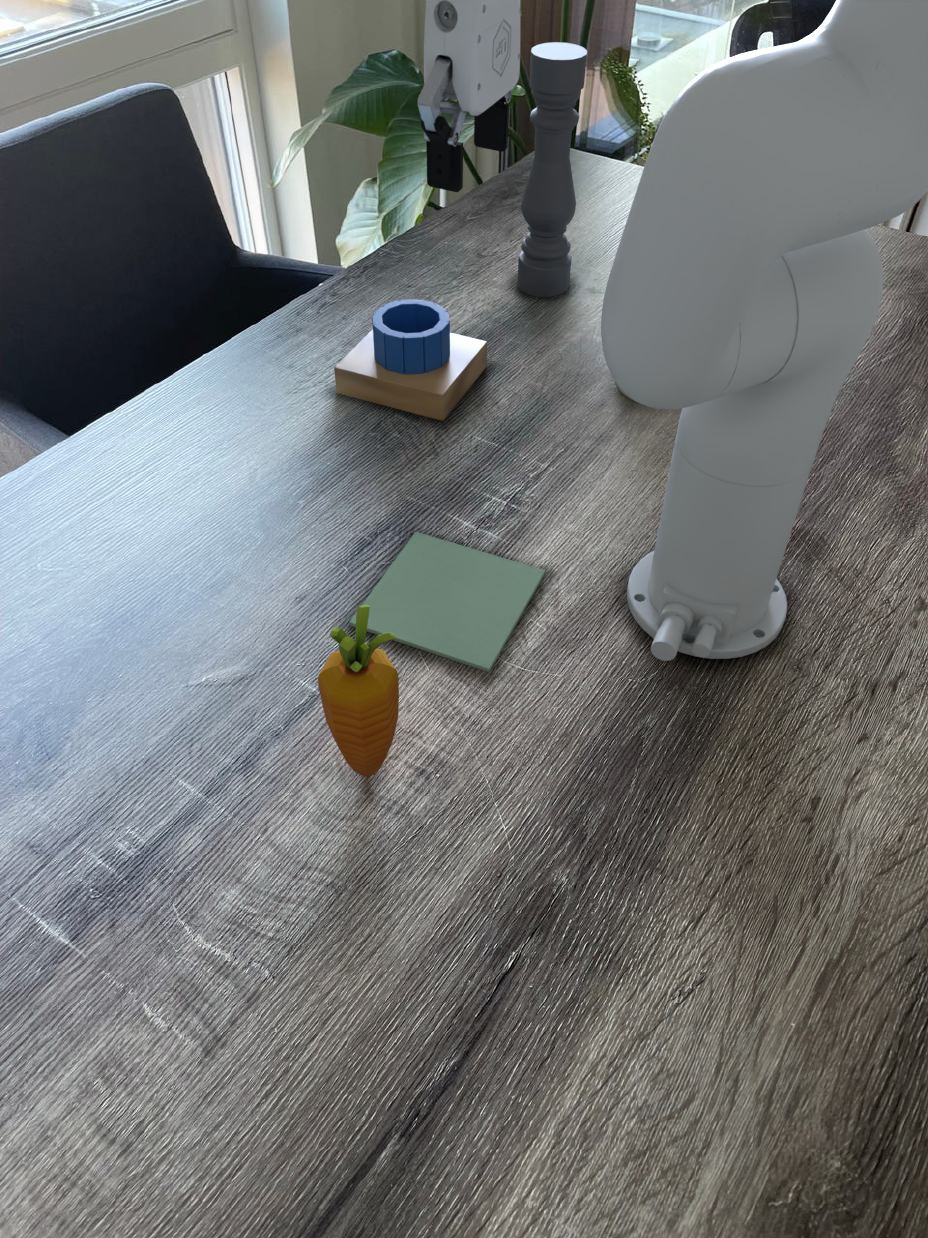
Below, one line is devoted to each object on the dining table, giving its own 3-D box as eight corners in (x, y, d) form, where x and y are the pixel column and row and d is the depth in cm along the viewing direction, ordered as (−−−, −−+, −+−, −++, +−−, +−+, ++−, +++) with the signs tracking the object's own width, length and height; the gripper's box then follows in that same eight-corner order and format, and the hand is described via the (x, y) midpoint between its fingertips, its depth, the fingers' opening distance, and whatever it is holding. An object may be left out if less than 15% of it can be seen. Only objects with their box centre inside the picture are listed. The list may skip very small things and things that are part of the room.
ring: (429, 381, 98) (429, 344, 95) (361, 363, 100) (358, 327, 97) (461, 344, 103) (461, 308, 100) (395, 328, 105) (393, 293, 102)
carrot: (366, 733, 71) (351, 581, 61) (418, 770, 69) (412, 618, 58) (316, 777, 69) (291, 626, 58) (369, 817, 66) (353, 667, 56)
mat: (489, 672, 75) (489, 669, 75) (349, 625, 79) (348, 622, 78) (545, 573, 83) (545, 570, 83) (415, 534, 86) (415, 531, 86)
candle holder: (508, 277, 119) (517, 45, 101) (553, 267, 121) (570, 38, 103) (532, 301, 115) (546, 63, 98) (579, 290, 117) (601, 55, 99)
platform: (443, 421, 98) (442, 395, 96) (336, 393, 102) (333, 367, 100) (486, 366, 106) (487, 341, 103) (385, 341, 109) (384, 316, 107)
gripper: (469, -24, 71) (465, 214, 83) (558, -76, 82) (543, 141, 94) (376, -37, 73) (386, 196, 85) (474, -87, 84) (470, 127, 96)
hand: (468, 167), depth 90 cm, fingers open, 9 cm apart
